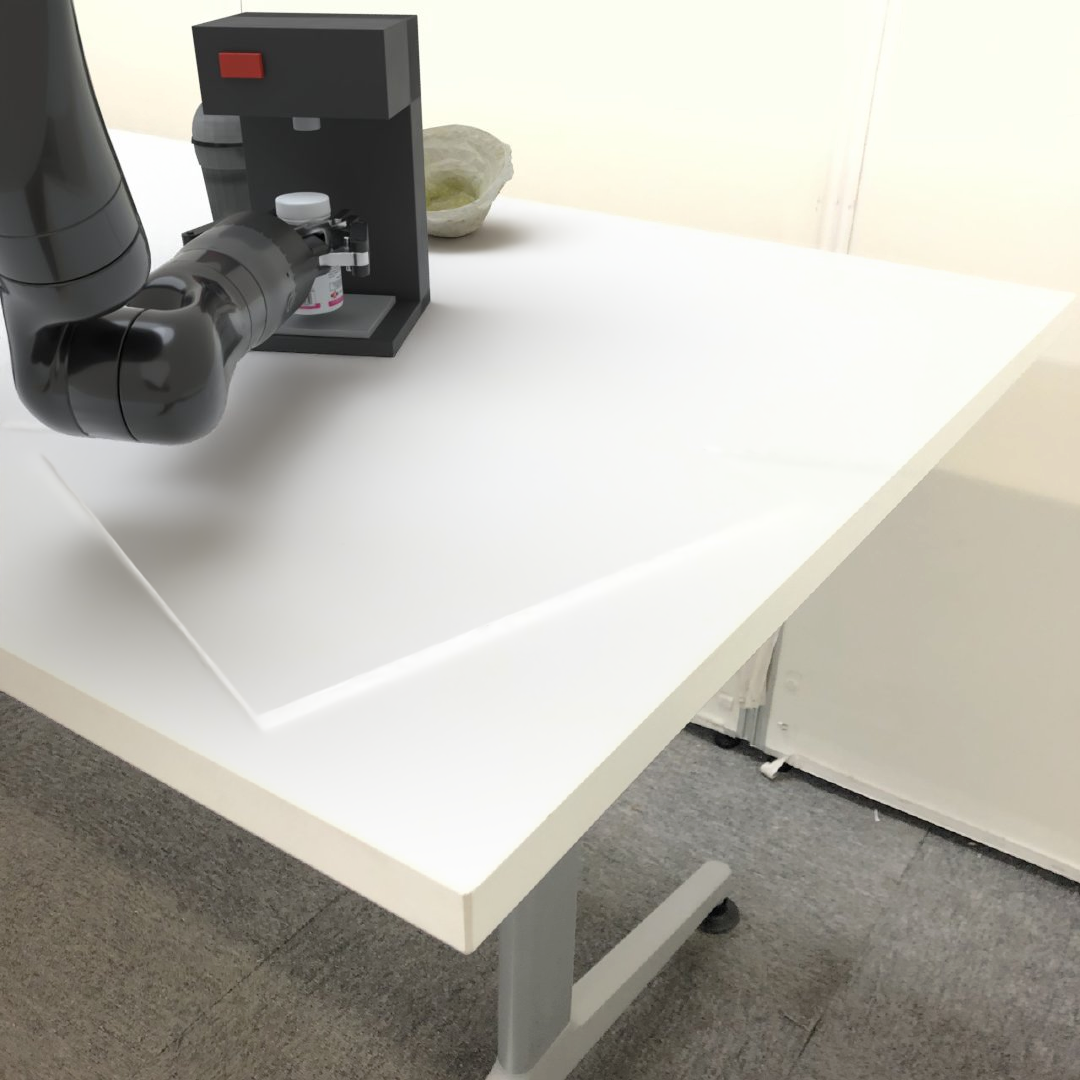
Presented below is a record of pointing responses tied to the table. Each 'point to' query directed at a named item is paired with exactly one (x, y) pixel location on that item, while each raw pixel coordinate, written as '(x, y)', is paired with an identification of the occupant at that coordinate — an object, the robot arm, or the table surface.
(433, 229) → the bowl
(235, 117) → the beverage cup
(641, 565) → the table surface
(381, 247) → the coffee maker
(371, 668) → the table surface
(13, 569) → the table surface
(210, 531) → the table surface
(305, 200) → the pill bottle
